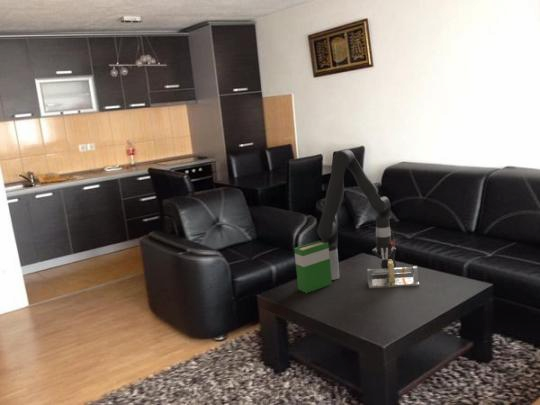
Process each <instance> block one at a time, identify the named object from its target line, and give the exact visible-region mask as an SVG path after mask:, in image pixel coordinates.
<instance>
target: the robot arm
mask: <svg viewBox="0 0 540 405" xmlns="http://www.w3.org/2000/svg"><path fill="white" fill-rule="evenodd" d="M347 169H348V171H350V173H351V174H352V175H353V177H354V179H355V183H356V185H357V186H358V188H359V189H360V191H361V192H362V193H363V194H364V196H365V197H366V198H367V200H368V202H369V206H371V208H372V210H374V211H375V212H376V213H377V215H376V217H375V237H376V240H375V241H376V245H375V247H374V248H373V249H372V253H373V254H374V255H375V256H376V258H378V259H380V260H381V262H382V264H383V265H384V266H387V265H388V259H389V258H391V257H392V256H393V254H394V253H395V254H396V251H397V248H396V247H395V248H394V247H392V244H391V232H390V229H391V227H390V226H391V225H390V224H389V222H390V215H391V202H390V199H389V198H388V197H387V196H380V195H379V194H378V192H379V190H378V187H376V185H375V183H374V182H372V180H371V179H370V178H369V177H368V176H367V174H366V172H365V171H364V169H363V168H362V165H360V163H359V162H358V159H357V158H356V156H355V154H354V153H353V151H351V150H350V149H348V148H347V149H346V148H345V149H342V150H339V151H336V152H335V153H334V155H333V158H332V164H331V171H330V172H331V173H330V178H329V182H328V185H327V189H326V195H325V199H324V204H323V209H322V214H321V217H320V220H319V224H318V226H317V230H316V232H317V235H318V237H319V238H320V239H321V243H328V246H329V257H330V269H331V281H334V280H337V279H339V278H340V277H341V276H340V267H339V265H340V264H339V254H338V253H339V252H338V242H339V236H338V226H337V225H336V222H335V218H336V217H337V216H336V215H337V214H338V211H339V210H340V208H341V205H342V202H343V199H344V194H345V185H344V184H345V183H344V177H345V172H346V170H347ZM391 248H392V249H391ZM390 250H392V251H391V252H390V254H389V255H388V252H389V251H390ZM378 252H379V253H380V254H379V253H378ZM384 253H385V258H384ZM381 255H382V256H381Z"/></svg>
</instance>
